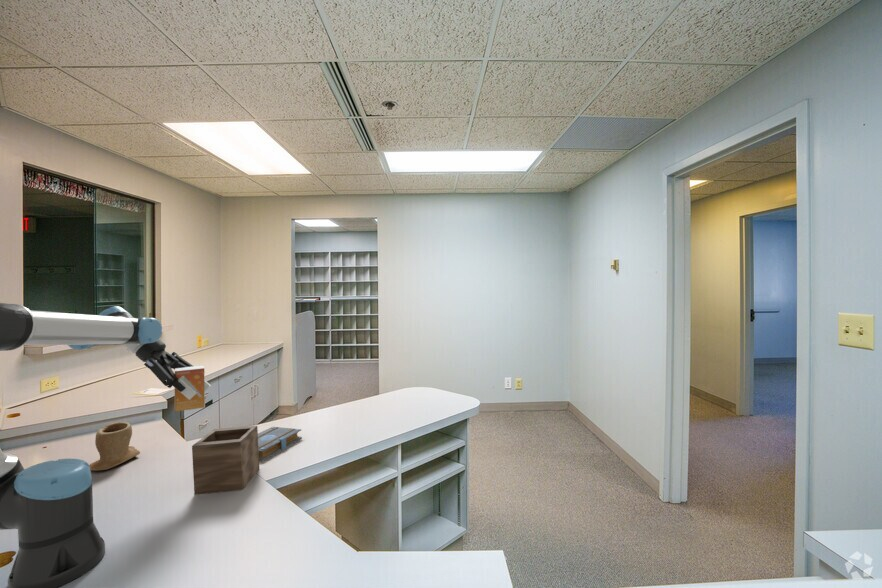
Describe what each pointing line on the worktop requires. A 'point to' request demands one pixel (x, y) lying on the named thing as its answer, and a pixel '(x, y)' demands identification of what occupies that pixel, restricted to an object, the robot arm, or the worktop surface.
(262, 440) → the book
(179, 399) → the small box
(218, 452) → the open wooden box
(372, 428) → the worktop surface
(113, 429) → the stone cup
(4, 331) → the robot arm
